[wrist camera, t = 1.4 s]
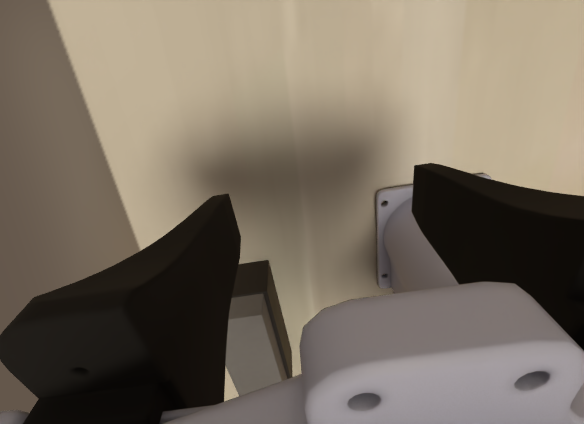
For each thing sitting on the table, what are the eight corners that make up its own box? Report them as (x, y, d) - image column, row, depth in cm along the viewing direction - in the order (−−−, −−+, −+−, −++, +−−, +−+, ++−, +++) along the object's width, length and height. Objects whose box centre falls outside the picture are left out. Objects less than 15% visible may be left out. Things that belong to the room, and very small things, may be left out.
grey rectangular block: (291, 350, 31) (293, 408, 26) (248, 356, 31) (243, 414, 26) (268, 260, 25) (266, 313, 20) (215, 268, 25) (201, 322, 20)
